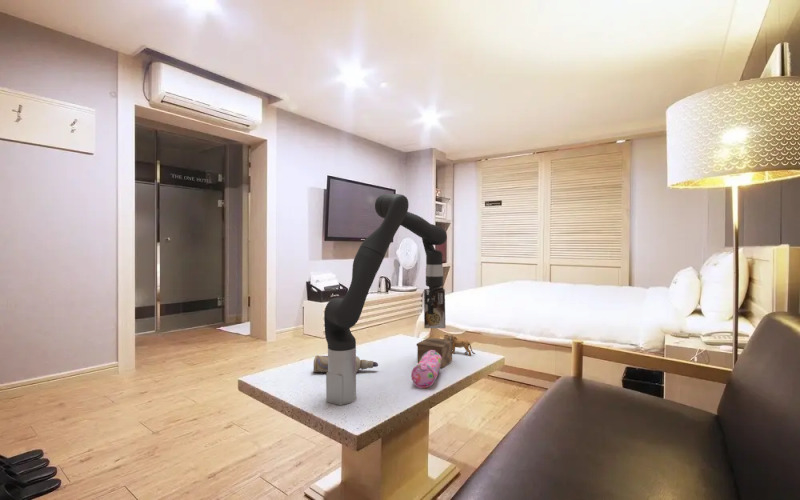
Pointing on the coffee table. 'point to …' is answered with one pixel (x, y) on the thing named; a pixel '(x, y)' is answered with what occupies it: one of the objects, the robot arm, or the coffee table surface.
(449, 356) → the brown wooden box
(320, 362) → the decorative bottle
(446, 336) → the lion figurine
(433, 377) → the pencil case
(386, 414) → the coffee table surface
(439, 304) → the coffee box
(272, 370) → the coffee table surface
